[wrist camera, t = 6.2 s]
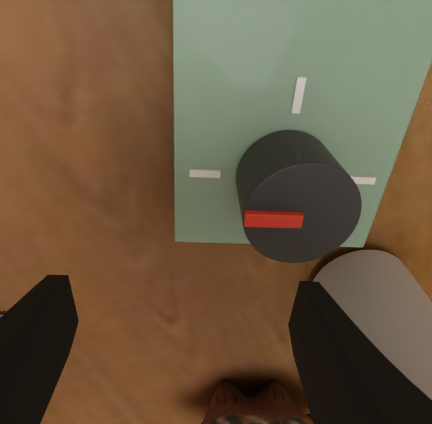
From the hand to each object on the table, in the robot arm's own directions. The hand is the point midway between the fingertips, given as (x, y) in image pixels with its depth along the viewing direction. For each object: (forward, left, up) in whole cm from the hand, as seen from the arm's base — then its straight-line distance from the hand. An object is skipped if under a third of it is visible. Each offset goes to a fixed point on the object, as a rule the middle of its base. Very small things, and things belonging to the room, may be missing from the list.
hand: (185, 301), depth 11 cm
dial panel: (+4, -4, -9) cm, 11 cm away
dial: (+2, -4, -6) cm, 8 cm away
